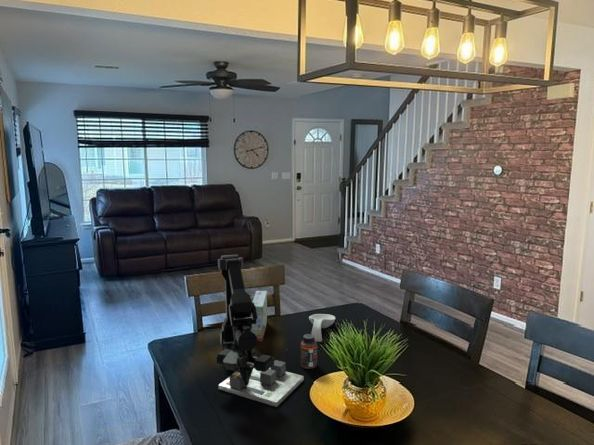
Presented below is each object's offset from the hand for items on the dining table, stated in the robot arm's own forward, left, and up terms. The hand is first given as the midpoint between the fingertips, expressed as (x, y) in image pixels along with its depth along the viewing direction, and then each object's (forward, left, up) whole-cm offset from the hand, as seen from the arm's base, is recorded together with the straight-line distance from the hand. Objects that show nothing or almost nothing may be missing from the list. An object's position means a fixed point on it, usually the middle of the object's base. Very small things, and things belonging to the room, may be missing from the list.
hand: (246, 384), depth 143 cm
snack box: (-23, +43, -3) cm, 49 cm away
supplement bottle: (+10, +25, -3) cm, 27 cm away
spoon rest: (0, +56, -3) cm, 56 cm away
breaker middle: (+4, +6, -1) cm, 8 cm away
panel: (+2, +6, -3) cm, 7 cm away
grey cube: (-3, 0, -1) cm, 3 cm away
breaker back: (+4, +13, -1) cm, 14 cm away
